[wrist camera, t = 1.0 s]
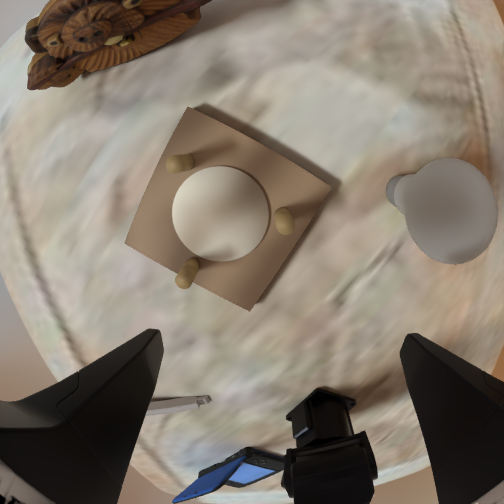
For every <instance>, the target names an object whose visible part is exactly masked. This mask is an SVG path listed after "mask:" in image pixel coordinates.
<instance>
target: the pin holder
mask: <svg viewBox="0 0 504 504" xmlns="http://www.w3.org/2000/svg"><path fill="white" fill-rule="evenodd" d="M331 188H332V187H331V186H329V185H328V184H326V183H325V182H323V181H321V180H320V179H318V178H317V177H315V176H314V175H312V174H311V173H309V172H307V171H306V170H304V169H303V168H301V167H299V166H298V165H296V164H294V163H293V162H291V161H290V160H288V159H286V158H285V157H283V156H281V155H279V154H278V153H276V152H274V151H273V150H271V149H269V148H267V147H266V146H264V145H262V144H260V143H258V142H257V141H255V140H253V139H251V138H249V137H248V136H246V135H244V134H242V133H240V132H238V131H236V130H234V129H233V128H231V127H229V126H227V125H225V124H223V123H221V122H219V121H217V120H215V119H213V118H211V117H209V116H207V115H205V114H203V113H200V112H198V111H196V110H194V109H192V108H190V107H187V109H186V111H185V112H184V114H183V116H182V118H181V120H180V121H179V123H178V125H177V127H176V129H175V131H174V132H173V134H172V136H171V138H170V140H169V142H168V144H167V146H166V148H165V150H164V152H163V154H162V156H161V158H160V160H159V162H158V164H157V166H156V168H155V171H154V173H153V175H152V177H151V179H150V181H149V184H148V186H147V188H146V190H145V193H144V195H143V197H142V200H141V202H140V204H139V207H138V209H137V212H136V214H135V217H134V219H133V222H132V224H131V227H130V230H129V232H128V235H127V238H126V240H125V244H127V245H128V246H130V247H132V248H133V249H135V250H137V251H138V252H140V253H142V254H144V255H145V256H147V257H149V258H151V259H152V260H154V261H156V262H158V263H159V264H161V265H163V266H165V267H166V268H168V269H170V270H172V271H174V272H175V273H177V274H178V275H177V276H176V278H175V282H176V284H177V286H178V287H180V288H182V289H187V288H189V287H190V286H191V284H192V282H194V283H196V284H198V285H199V286H201V287H203V288H205V289H207V290H209V291H211V292H213V293H215V294H217V295H218V296H220V297H222V298H224V299H226V300H228V301H230V302H232V303H234V304H236V305H238V306H240V307H242V308H244V309H246V310H248V311H251V309H252V308H253V306H254V305H255V303H256V302H257V301H258V299H259V298H260V296H261V295H262V293H263V292H264V290H265V289H266V287H267V286H268V284H269V283H270V281H271V280H272V278H273V277H274V275H275V274H276V273H277V271H278V270H279V268H280V267H281V265H282V264H283V262H284V261H285V259H286V258H287V256H288V255H289V253H290V251H291V250H292V248H293V247H294V245H295V244H296V242H297V241H298V239H299V238H300V236H301V235H302V233H303V232H304V230H305V229H306V227H307V225H308V224H309V222H310V221H311V219H312V218H313V216H314V215H315V213H316V211H317V210H318V208H319V207H320V205H321V204H322V202H323V200H324V199H325V197H326V196H327V194H328V192H329V191H330V189H331Z"/></svg>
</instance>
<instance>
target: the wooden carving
mask: <svg viewBox="0 0 504 504" xmlns="http://www.w3.org/2000/svg"><path fill="white" fill-rule="evenodd" d="M210 1H212V0H50V1H49V2H48V3H47V4H46V6H45V7H44V8H43V10H42V12H41V13H40V15H39V16H38V17H36V18H34V19H31V20H30V21H29V22H28V23H27V26H26V31H25V32H26V35H25V42H26V43H27V45H28V46H29V47H30V48H31V50H32V51H33V52H35V53H36V54H35V55H34V56H33V57H32V61H31V63H30V64H29V66H28V84H27V89H29V90H36V89H38V90H42V89H47V88H49V87H65V86H67V85H68V84H70V83H72V82H73V81H74V80H75V79H76V78H78V77H79V76H80V74H82V73H83V72H84V70H86V71H87V72H94V71H98V70H102V69H106V68H109V67H112V66H115V65H118V64H121V63H124V62H127V61H129V60H131V59H133V58H136V57H139V56H140V55H142V54H145V53H147V52H149V51H151V50H153V49H156V48H158V47H159V46H162V45H164V44H166V43H167V42H169V41H171V40H173V39H174V38H176V37H178V36H179V35H180V34H182V33H184V32H185V31H187V30H188V29H190V28H191V27H193V26H194V25H195V24H197V23H198V22H199V20H200V19H201V14H200V6H203V5H205V4H207V3H209V2H210Z"/></svg>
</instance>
